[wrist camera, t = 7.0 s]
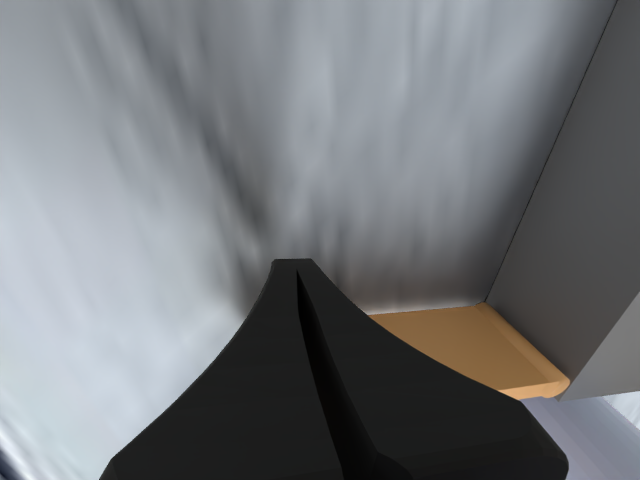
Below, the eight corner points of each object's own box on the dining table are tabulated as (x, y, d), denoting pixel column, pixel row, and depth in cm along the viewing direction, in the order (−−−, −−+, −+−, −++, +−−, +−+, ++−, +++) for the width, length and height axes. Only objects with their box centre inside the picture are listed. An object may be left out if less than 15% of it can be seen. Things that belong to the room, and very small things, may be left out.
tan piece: (492, 301, 15) (575, 376, 11) (483, 325, 16) (556, 403, 12) (249, 321, 13) (241, 424, 9) (251, 348, 13) (245, 453, 9)
